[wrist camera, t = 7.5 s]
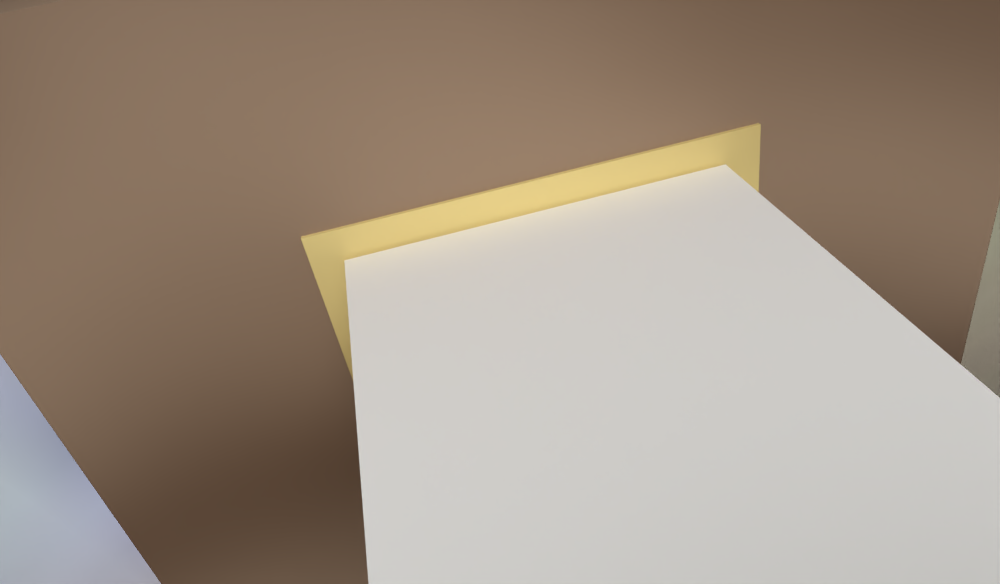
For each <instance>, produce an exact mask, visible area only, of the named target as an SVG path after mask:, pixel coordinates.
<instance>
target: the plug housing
mask: <svg viewBox="0 0 1000 584" xmlns="http://www.w3.org/2000/svg"><path fill="white" fill-rule="evenodd" d="M344 263H345V276H346V290H347V303H348V317H349V330H350V343H351V357H352V370H353V383H354V397H355V410H356V423H357V437H358V450H359V463H360V477H361V490H362V503H363V517H364V530H365V543H366V557H367V570H368V584H1000V398H999V397H998V396H997V395H996V394H995V393H993V392H992V391H991V390H990V389H989V388H988V387H986V386H985V385H984V384H983V383H982V382H981V381H979V380H978V379H977V378H976V377H975V376H973V375H972V374H971V373H970V372H969V371H968V370H966V369H965V368H964V367H963V366H962V365H961V364H959V363H958V362H957V361H956V360H955V359H954V358H952V357H951V356H950V355H949V354H948V353H946V352H945V351H944V350H943V349H942V348H941V347H939V346H938V345H937V344H936V343H935V342H934V341H932V340H931V339H930V338H929V337H928V336H927V335H925V334H924V333H923V332H922V331H921V330H919V329H918V328H917V327H916V326H915V325H914V324H912V323H911V322H910V321H909V320H908V319H907V318H905V317H904V316H903V315H902V314H901V313H900V312H898V311H897V310H896V309H895V308H894V307H892V306H891V305H890V304H889V303H888V302H887V301H885V300H884V299H883V298H882V297H881V296H880V295H878V294H877V293H876V292H875V291H874V290H873V289H871V288H870V287H869V286H868V285H867V284H865V283H864V282H863V281H862V280H861V279H860V278H858V277H857V276H856V275H855V274H854V273H853V272H851V271H850V270H849V269H848V268H847V267H846V266H844V265H843V264H842V263H841V262H840V261H838V260H837V259H836V258H835V257H834V256H833V255H831V254H830V253H829V252H828V251H827V250H826V249H824V248H823V247H822V246H821V245H820V244H818V243H817V242H816V241H815V240H814V239H813V238H811V237H810V236H809V235H808V234H807V233H806V232H804V231H803V230H802V229H801V228H800V227H799V226H797V225H796V224H795V223H794V222H793V221H791V220H790V219H789V218H788V217H787V216H786V215H784V214H783V213H782V212H781V211H780V210H779V209H777V208H776V207H775V206H774V205H773V204H772V203H770V202H769V201H768V200H767V199H766V198H764V197H763V196H762V195H761V194H760V193H759V192H757V191H756V190H755V189H754V188H753V187H752V186H750V185H749V184H748V183H747V182H746V181H745V180H743V179H742V178H741V177H740V176H739V175H737V174H736V173H735V172H734V171H733V170H732V169H730V168H729V167H728V166H727V165H726V164H725V165H721V166H717V167H713V168H709V169H705V170H701V171H697V172H693V173H689V174H685V175H681V176H677V177H673V178H669V179H665V180H661V181H657V182H653V183H649V184H645V185H641V186H637V187H633V188H630V189H626V190H622V191H618V192H614V193H610V194H606V195H602V196H598V197H594V198H590V199H586V200H582V201H578V202H574V203H570V204H566V205H562V206H558V207H554V208H550V209H546V210H542V211H538V212H534V213H530V214H526V215H522V216H518V217H514V218H510V219H507V220H503V221H499V222H495V223H491V224H487V225H483V226H479V227H475V228H471V229H467V230H463V231H459V232H455V233H451V234H447V235H443V236H439V237H435V238H431V239H427V240H423V241H419V242H415V243H411V244H407V245H403V246H399V247H395V248H391V249H387V250H384V251H380V252H376V253H372V254H368V255H364V256H360V257H356V258H352V259H348V260H344Z"/></svg>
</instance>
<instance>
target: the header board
mask: <svg viewBox="0 0 1000 584" xmlns="http://www.w3.org/2000/svg"><path fill="white" fill-rule="evenodd" d="M725 164H726V165H727V166H728V167H729V168H730V169H732V170H733V171H734V172H735V173H736V174H737V175H739V176H740V177H741V178H742V179H743V180H745V181H746V182H747V183H748V184H749V185H750V186H752V187H753V188H754V189H755V190H756V191H757V192H759V193H760V194H761V195H762V196H763V197H764V198H766V199H767V200H768V201H769V202H770V203H772V204H773V205H774V206H775V207H776V208H777V209H779V210H780V211H781V212H782V213H783V214H784V215H786V216H787V217H788V218H789V219H790V220H791V221H793V222H794V223H795V224H796V225H797V226H799V227H800V228H801V229H802V230H803V231H804V232H806V233H807V234H808V235H809V236H810V237H811V238H813V239H814V240H815V241H816V242H817V243H818V244H820V245H821V246H822V247H823V248H824V249H826V250H827V251H828V252H829V253H830V254H831V255H833V256H834V257H835V258H836V259H837V260H838V261H840V262H841V263H842V264H843V265H844V266H846V267H847V268H848V269H849V270H850V271H851V272H853V273H854V274H855V275H856V276H857V277H858V278H860V279H861V280H862V281H863V282H864V283H865V284H867V285H868V286H869V287H870V288H871V289H873V290H874V291H875V292H876V293H877V294H878V295H880V296H881V297H882V298H883V299H884V300H885V301H887V302H888V303H889V304H890V305H891V306H892V307H894V308H895V309H896V310H897V311H898V312H900V313H901V314H902V315H903V316H904V317H905V318H907V319H908V320H909V321H910V322H911V323H912V324H914V325H915V326H916V327H917V328H918V329H919V330H921V331H922V332H923V333H924V334H925V335H927V336H928V337H929V338H930V339H931V340H932V341H934V342H935V343H936V344H937V345H938V346H939V347H941V348H942V349H943V350H944V351H945V352H946V353H948V354H949V355H950V356H951V357H952V358H954V359H955V360H956V361H957V362H958V363H959V364H961V360H962V356H963V352H964V348H965V343H966V339H967V335H968V331H969V327H970V322H971V318H972V314H973V310H974V305H975V301H976V297H977V293H978V289H979V284H980V280H981V276H982V272H983V267H984V263H985V259H986V255H987V251H988V246H989V242H990V238H991V234H992V229H993V225H994V221H995V217H996V213H997V208H998V204H999V200H1000V0H0V354H1V356H2V357H3V359H4V360H5V361H6V363H7V364H8V366H9V367H10V368H11V370H12V371H13V373H14V374H15V376H16V377H17V378H18V380H19V381H20V383H21V384H22V386H23V387H24V388H25V390H26V391H27V393H28V394H29V396H30V397H31V398H32V400H33V401H34V403H35V404H36V406H37V407H38V408H39V410H40V411H41V413H42V414H43V416H44V417H45V418H46V420H47V421H48V423H49V424H50V426H51V427H52V428H53V430H54V431H55V433H56V434H57V436H58V437H59V438H60V440H61V441H62V443H63V444H64V446H65V447H66V448H67V450H68V451H69V453H70V454H71V455H72V457H73V458H74V460H75V461H76V463H77V464H78V465H79V467H80V468H81V470H82V471H83V473H84V474H85V475H86V477H87V478H88V480H89V481H90V483H91V484H92V485H93V487H94V488H95V490H96V491H97V493H98V494H99V495H100V497H101V498H102V500H103V501H104V503H105V504H106V505H107V507H108V508H109V510H110V511H111V513H112V514H113V515H114V517H115V518H116V520H117V521H118V523H119V524H120V525H121V527H122V528H123V530H124V531H125V533H126V534H127V535H128V537H129V538H130V540H131V541H132V543H133V544H134V545H135V547H136V548H137V550H138V551H139V552H140V554H141V555H142V557H143V558H144V560H145V561H146V562H147V564H148V565H149V567H150V568H151V570H152V571H153V572H154V574H155V575H156V577H157V578H158V580H159V581H160V582H161V584H368V570H367V557H366V543H365V530H364V517H363V503H362V490H361V477H360V463H359V450H358V437H357V423H356V410H355V397H354V383H353V370H352V357H351V343H350V330H349V317H348V303H347V290H346V276H345V263H344V260H348V259H352V258H356V257H360V256H364V255H368V254H372V253H376V252H380V251H384V250H387V249H391V248H395V247H399V246H403V245H407V244H411V243H415V242H419V241H423V240H427V239H431V238H435V237H439V236H443V235H447V234H451V233H455V232H459V231H463V230H467V229H471V228H475V227H479V226H483V225H487V224H491V223H495V222H499V221H503V220H507V219H510V218H514V217H518V216H522V215H526V214H530V213H534V212H538V211H542V210H546V209H550V208H554V207H558V206H562V205H566V204H570V203H574V202H578V201H582V200H586V199H590V198H594V197H598V196H602V195H606V194H610V193H614V192H618V191H622V190H626V189H630V188H633V187H637V186H641V185H645V184H649V183H653V182H657V181H661V180H665V179H669V178H673V177H677V176H681V175H685V174H689V173H693V172H697V171H701V170H705V169H709V168H713V167H717V166H721V165H725Z"/></svg>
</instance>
